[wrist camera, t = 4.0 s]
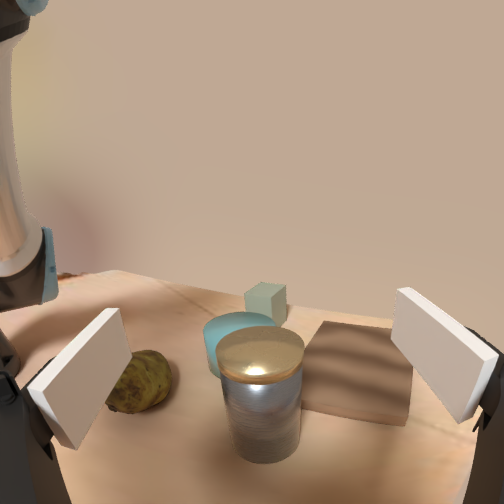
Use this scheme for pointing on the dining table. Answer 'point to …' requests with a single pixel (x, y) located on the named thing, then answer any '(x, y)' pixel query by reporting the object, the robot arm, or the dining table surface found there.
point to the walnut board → (356, 374)
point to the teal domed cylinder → (229, 331)
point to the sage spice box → (268, 301)
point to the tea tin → (262, 390)
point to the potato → (141, 383)
